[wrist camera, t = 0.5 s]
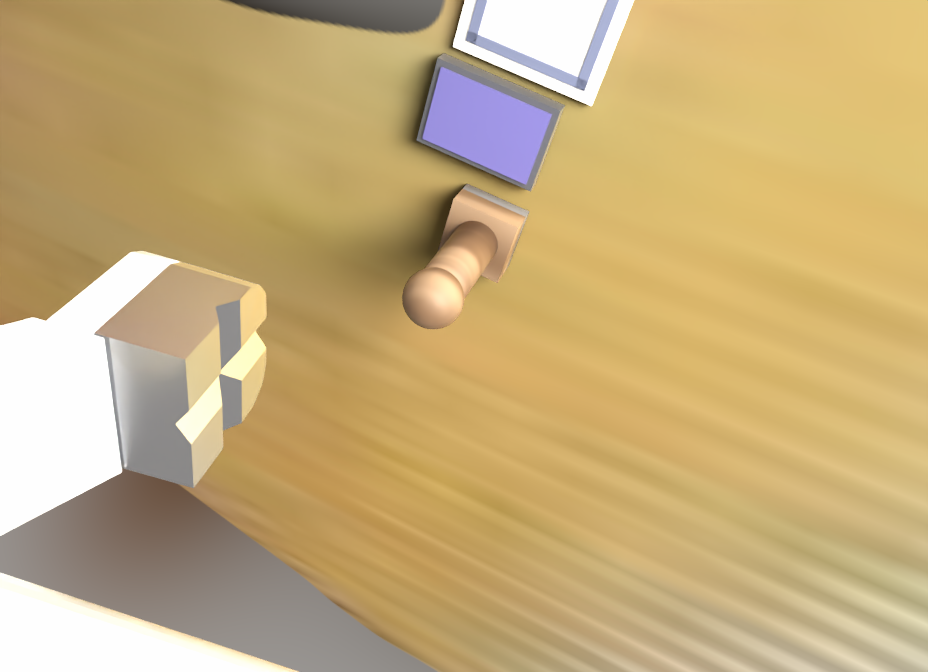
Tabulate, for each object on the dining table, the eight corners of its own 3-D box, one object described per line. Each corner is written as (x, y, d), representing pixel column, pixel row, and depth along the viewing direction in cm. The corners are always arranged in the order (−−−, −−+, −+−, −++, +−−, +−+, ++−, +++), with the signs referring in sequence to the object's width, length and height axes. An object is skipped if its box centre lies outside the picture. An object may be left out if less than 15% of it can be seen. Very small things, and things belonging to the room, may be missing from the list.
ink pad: (443, 53, 50) (436, 58, 49) (565, 105, 49) (559, 112, 48) (422, 134, 54) (415, 141, 53) (535, 184, 53) (529, 192, 52)
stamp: (467, 183, 55) (394, 266, 46) (529, 211, 54) (467, 301, 45) (449, 238, 57) (378, 326, 49) (508, 265, 57) (446, 359, 48)
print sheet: (497, -117, 44) (495, -116, 44) (655, -54, 43) (654, -52, 43) (454, 45, 50) (451, 47, 49) (592, 104, 49) (590, 106, 48)
